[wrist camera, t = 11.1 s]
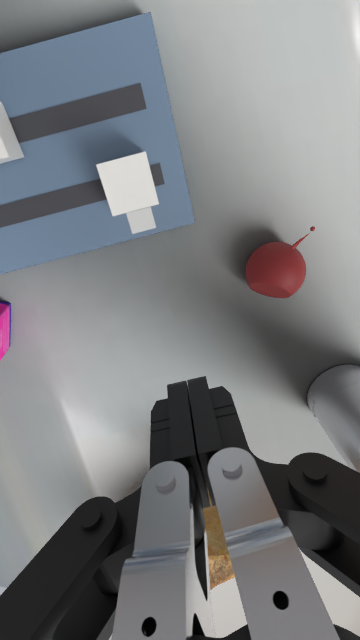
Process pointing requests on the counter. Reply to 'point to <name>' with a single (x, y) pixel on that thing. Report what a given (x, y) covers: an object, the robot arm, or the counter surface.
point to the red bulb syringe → (276, 269)
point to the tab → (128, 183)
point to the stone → (217, 548)
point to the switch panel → (85, 142)
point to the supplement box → (5, 327)
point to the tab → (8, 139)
